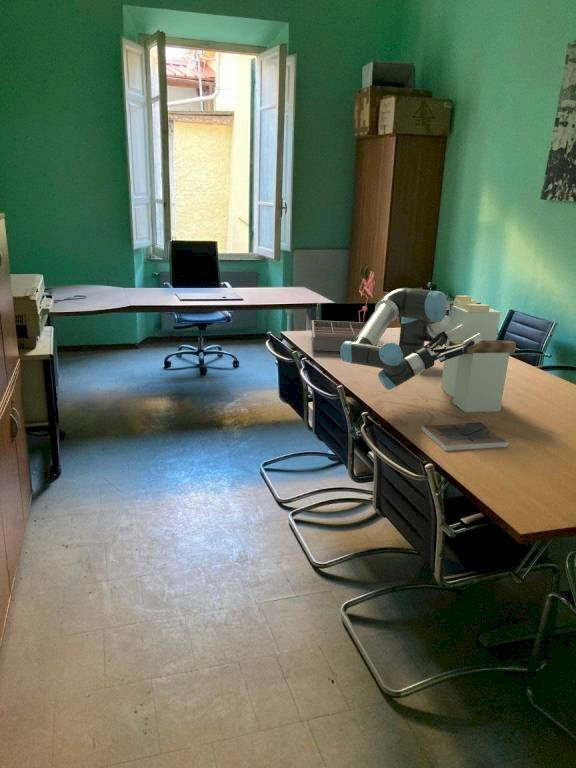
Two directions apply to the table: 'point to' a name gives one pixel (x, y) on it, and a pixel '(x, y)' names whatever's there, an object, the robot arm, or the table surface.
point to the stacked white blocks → (468, 332)
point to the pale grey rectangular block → (480, 381)
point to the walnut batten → (489, 346)
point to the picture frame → (464, 436)
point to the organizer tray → (334, 334)
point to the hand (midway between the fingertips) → (471, 331)
